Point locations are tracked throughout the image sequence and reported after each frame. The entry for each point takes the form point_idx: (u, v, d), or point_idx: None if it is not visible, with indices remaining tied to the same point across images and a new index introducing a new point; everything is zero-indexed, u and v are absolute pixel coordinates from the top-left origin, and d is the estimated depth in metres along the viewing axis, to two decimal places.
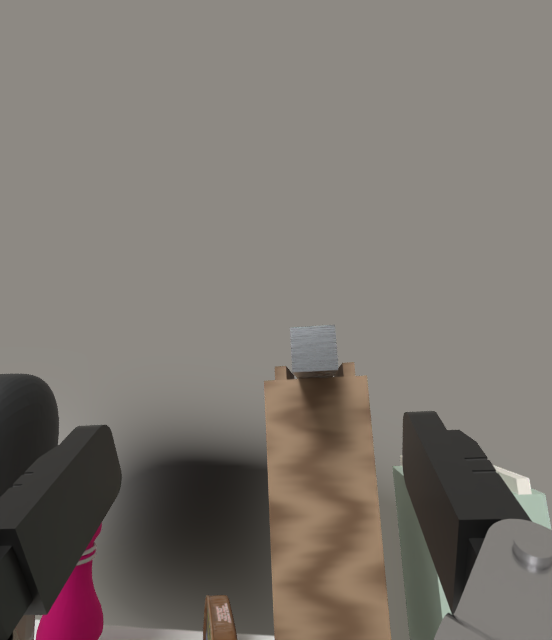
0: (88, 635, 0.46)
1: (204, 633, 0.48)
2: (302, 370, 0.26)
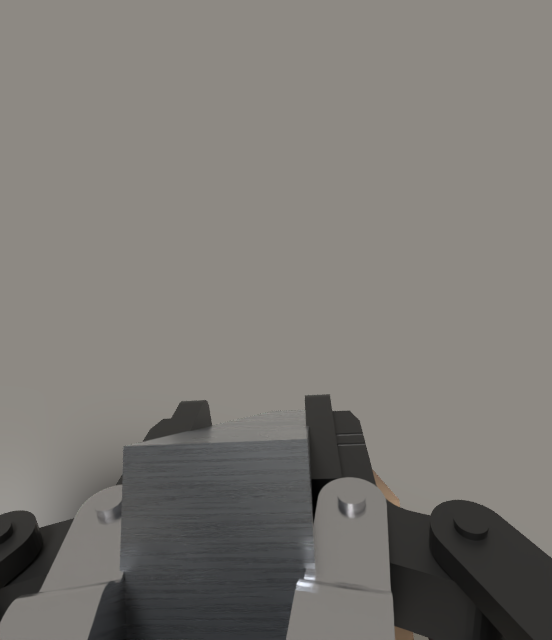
0: None
1: None
2: None
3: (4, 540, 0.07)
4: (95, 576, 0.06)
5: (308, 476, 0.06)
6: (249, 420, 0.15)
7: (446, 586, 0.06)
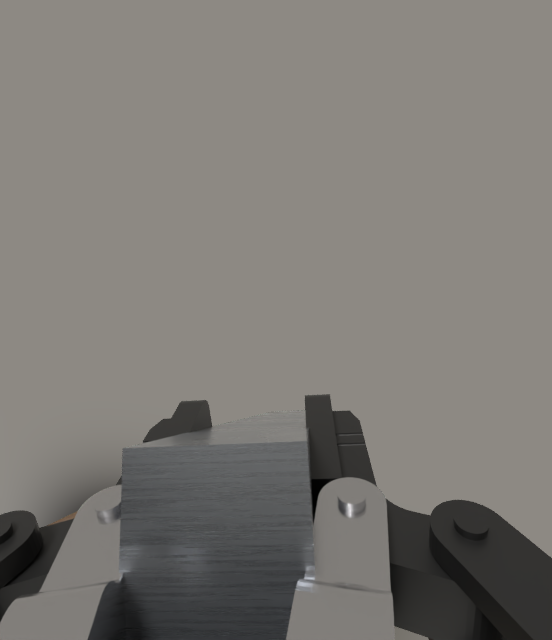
0: None
1: None
2: None
3: (4, 540, 0.07)
4: (95, 576, 0.06)
5: (308, 478, 0.06)
6: (249, 421, 0.15)
7: (446, 586, 0.06)
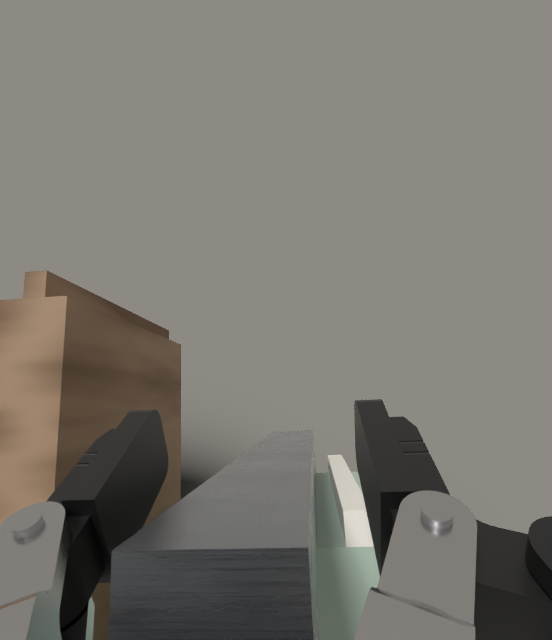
0: None
1: None
2: None
3: None
4: (21, 593, 0.06)
5: (309, 590, 0.06)
6: (249, 464, 0.14)
7: None
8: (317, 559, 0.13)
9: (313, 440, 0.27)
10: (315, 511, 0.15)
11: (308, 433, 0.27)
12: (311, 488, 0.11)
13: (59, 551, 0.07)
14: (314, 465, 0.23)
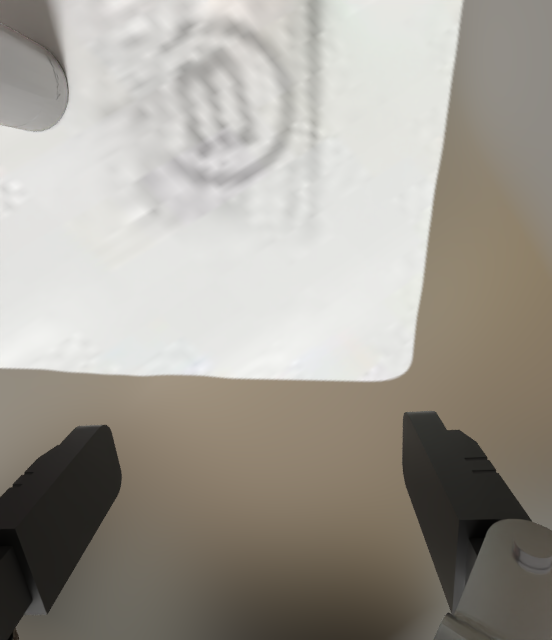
0: None
1: None
2: None
3: None
4: None
5: None
6: None
7: None
8: None
9: None
10: None
11: None
12: None
13: None
14: None
